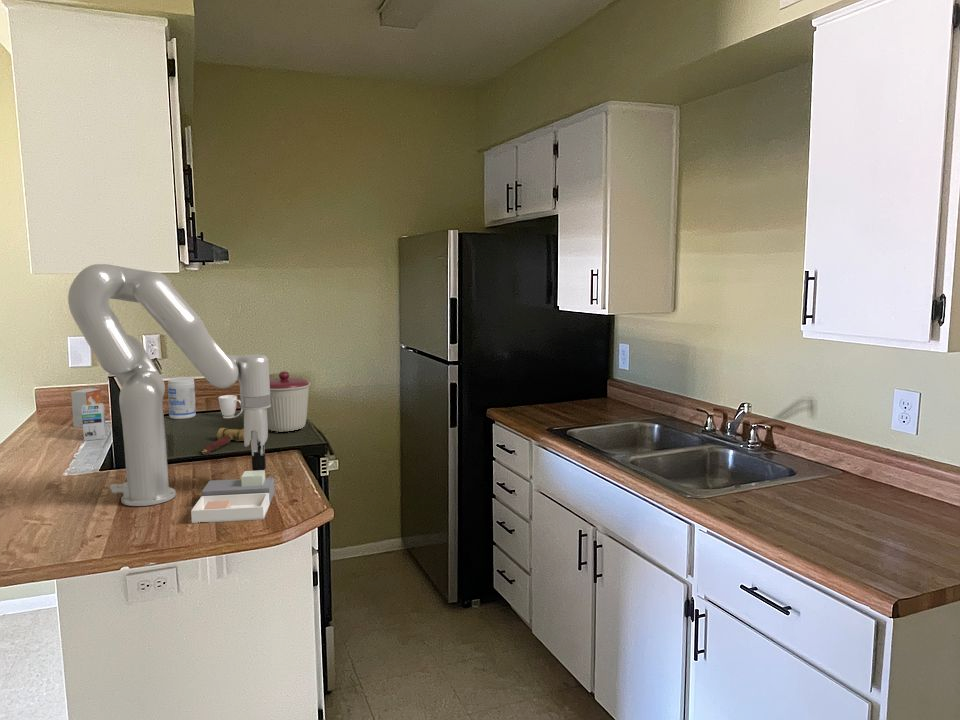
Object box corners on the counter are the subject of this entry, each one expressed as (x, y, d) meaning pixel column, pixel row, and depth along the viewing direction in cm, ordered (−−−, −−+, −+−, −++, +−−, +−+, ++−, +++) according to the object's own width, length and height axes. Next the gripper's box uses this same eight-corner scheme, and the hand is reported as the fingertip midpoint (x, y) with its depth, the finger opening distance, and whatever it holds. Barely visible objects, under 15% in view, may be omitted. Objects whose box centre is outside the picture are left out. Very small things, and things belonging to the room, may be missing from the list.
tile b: (241, 486, 179) (241, 476, 179) (245, 480, 184) (244, 471, 184) (262, 485, 180) (262, 475, 180) (265, 479, 185) (264, 470, 185)
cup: (227, 414, 282) (225, 394, 281) (248, 416, 279) (247, 395, 278) (215, 418, 276) (214, 397, 274) (237, 420, 272) (236, 399, 271)
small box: (88, 427, 261) (85, 392, 260) (73, 426, 262) (70, 391, 261) (104, 422, 269) (101, 388, 267) (89, 422, 270) (86, 387, 269)
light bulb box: (105, 439, 244) (103, 408, 243) (83, 441, 241) (80, 409, 240) (106, 432, 254) (104, 402, 252) (84, 434, 251) (82, 404, 250)
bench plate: (202, 507, 176) (201, 491, 176) (210, 495, 185) (209, 480, 185) (270, 503, 179) (269, 488, 178) (274, 492, 187) (274, 477, 187)
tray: (191, 523, 165) (191, 510, 165) (202, 508, 176) (201, 496, 175) (263, 519, 168) (263, 507, 167) (269, 504, 178) (269, 492, 178)
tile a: (207, 501, 171) (208, 512, 172) (203, 509, 167) (204, 519, 167) (229, 500, 172) (230, 510, 173) (226, 507, 167) (226, 518, 168)
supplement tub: (166, 420, 273) (164, 381, 271) (172, 414, 282) (170, 377, 280) (193, 419, 275) (191, 381, 273) (198, 413, 284) (196, 377, 282)
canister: (289, 438, 245) (286, 376, 242) (248, 432, 252) (245, 373, 250) (322, 426, 261) (320, 369, 258) (283, 422, 269) (281, 366, 266)
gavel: (215, 447, 222) (186, 445, 224) (217, 461, 223) (188, 459, 225) (250, 427, 242) (223, 426, 244) (251, 440, 243) (224, 439, 245)
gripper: (245, 396, 195) (249, 462, 198) (235, 408, 181) (239, 478, 183) (274, 395, 196) (277, 461, 199) (266, 406, 182) (270, 477, 184)
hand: (259, 469), depth 191 cm, fingers closed
